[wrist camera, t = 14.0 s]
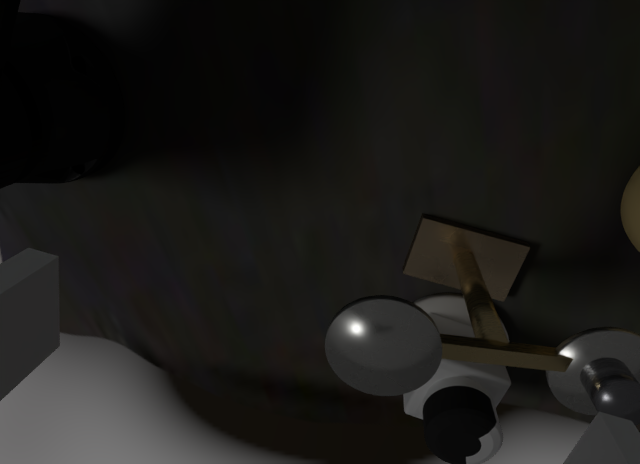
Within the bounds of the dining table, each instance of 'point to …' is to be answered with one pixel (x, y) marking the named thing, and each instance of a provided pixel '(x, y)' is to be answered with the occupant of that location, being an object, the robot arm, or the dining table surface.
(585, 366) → the balance
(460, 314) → the dish
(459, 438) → the grey piece
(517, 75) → the dining table surface
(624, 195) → the olive brown dome
